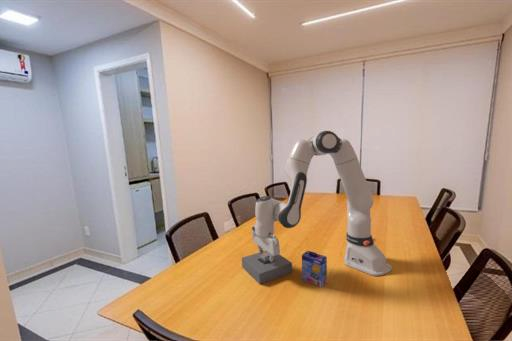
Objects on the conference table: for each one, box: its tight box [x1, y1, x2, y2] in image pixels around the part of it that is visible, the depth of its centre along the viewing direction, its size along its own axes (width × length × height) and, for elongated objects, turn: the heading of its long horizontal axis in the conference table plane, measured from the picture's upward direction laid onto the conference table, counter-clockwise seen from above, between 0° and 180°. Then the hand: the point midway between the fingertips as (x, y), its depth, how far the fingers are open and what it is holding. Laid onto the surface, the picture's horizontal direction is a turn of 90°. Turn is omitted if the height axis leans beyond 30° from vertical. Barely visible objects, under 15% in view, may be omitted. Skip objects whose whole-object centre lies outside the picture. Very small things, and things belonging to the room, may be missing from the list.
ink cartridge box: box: [301, 250, 328, 288], centre depth 110 cm, size 10×6×14 cm, turn 51°
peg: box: [260, 252, 271, 264], centre depth 121 cm, size 4×4×8 cm
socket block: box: [241, 250, 293, 285], centre depth 121 cm, size 18×18×5 cm
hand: (266, 257), depth 121 cm, fingers open, 8 cm apart
